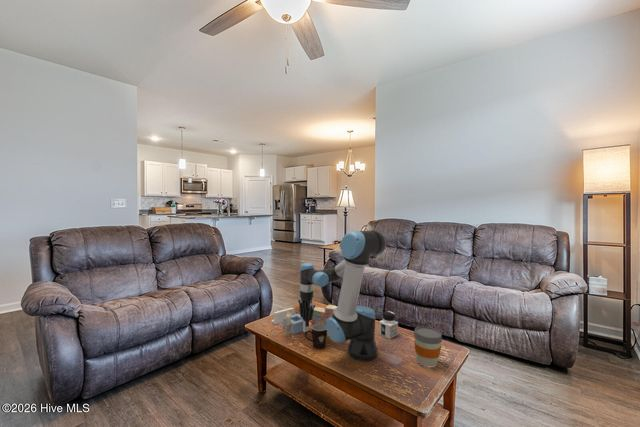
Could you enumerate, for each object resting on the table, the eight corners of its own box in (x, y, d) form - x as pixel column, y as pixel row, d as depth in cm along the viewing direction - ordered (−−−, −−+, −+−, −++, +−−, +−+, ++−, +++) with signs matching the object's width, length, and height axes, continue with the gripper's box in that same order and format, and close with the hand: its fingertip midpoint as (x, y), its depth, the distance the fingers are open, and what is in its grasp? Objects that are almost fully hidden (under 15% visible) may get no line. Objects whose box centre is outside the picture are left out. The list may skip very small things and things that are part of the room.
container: (389, 339, 158) (390, 316, 157) (378, 334, 164) (379, 312, 163) (397, 335, 163) (398, 313, 162) (386, 330, 169) (387, 309, 168)
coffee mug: (327, 342, 153) (328, 324, 152) (326, 350, 144) (327, 331, 144) (306, 340, 154) (307, 322, 154) (304, 348, 145) (304, 329, 145)
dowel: (291, 336, 159) (292, 311, 158) (287, 337, 157) (287, 313, 156) (288, 334, 161) (289, 310, 161) (284, 335, 159) (284, 311, 159)
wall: (294, 318, 182) (294, 308, 182) (275, 324, 173) (275, 313, 173) (289, 316, 186) (289, 305, 186) (271, 321, 177) (271, 310, 177)
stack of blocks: (311, 324, 175) (311, 304, 175) (315, 320, 181) (316, 301, 180) (343, 332, 166) (343, 311, 165) (346, 327, 171) (347, 308, 171)
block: (308, 329, 168) (309, 319, 168) (293, 334, 161) (293, 324, 161) (298, 322, 176) (298, 313, 176) (283, 327, 169) (283, 317, 169)
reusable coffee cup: (408, 363, 135) (410, 332, 134) (418, 352, 144) (419, 323, 144) (435, 373, 127) (437, 341, 126) (444, 362, 136) (445, 331, 136)
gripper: (319, 292, 158) (318, 333, 159) (305, 286, 168) (304, 325, 169) (308, 294, 153) (307, 337, 154) (294, 288, 163) (293, 328, 164)
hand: (305, 331), depth 161 cm, fingers closed
